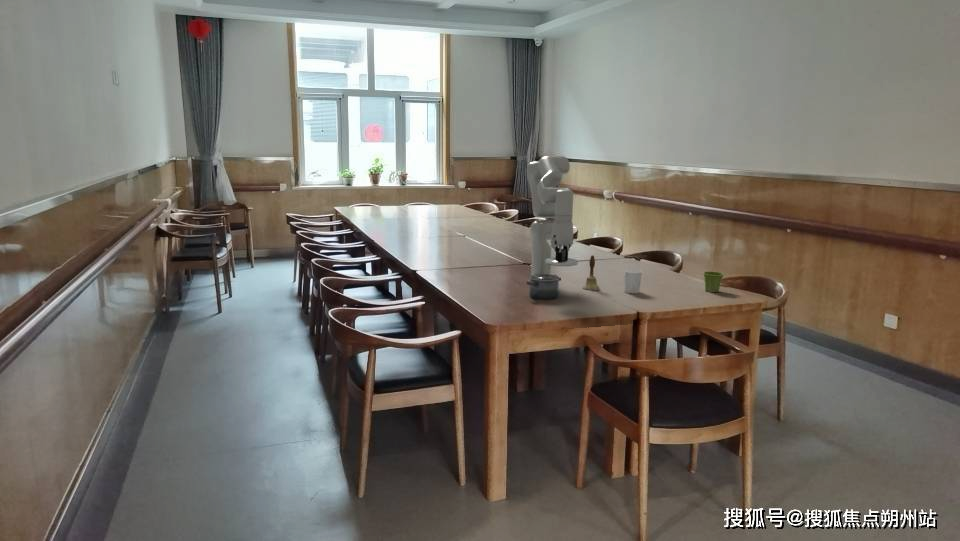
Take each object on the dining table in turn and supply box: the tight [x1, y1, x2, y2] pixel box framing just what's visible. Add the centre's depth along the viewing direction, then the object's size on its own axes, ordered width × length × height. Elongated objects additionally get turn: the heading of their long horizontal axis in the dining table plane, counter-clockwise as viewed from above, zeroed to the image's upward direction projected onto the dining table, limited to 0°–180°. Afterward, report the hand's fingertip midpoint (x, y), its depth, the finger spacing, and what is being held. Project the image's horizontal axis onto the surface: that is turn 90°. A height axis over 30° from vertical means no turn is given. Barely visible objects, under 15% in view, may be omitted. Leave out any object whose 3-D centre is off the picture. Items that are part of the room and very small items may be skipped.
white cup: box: [623, 269, 642, 294], centre depth 302 cm, size 8×8×10 cm
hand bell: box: [582, 255, 601, 291], centre depth 308 cm, size 8×8×16 cm
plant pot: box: [702, 271, 725, 293], centre depth 306 cm, size 9×9×9 cm
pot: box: [526, 274, 562, 301], centre depth 292 cm, size 18×13×9 cm
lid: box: [545, 248, 579, 267], centre depth 280 cm, size 14×14×6 cm
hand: (561, 260), depth 280 cm, fingers closed on lid, 3 cm apart
